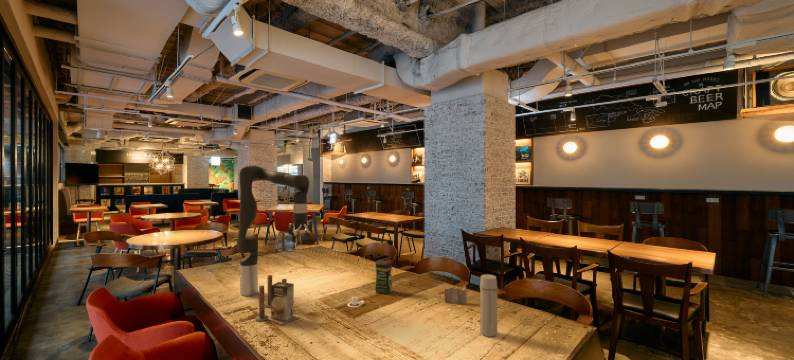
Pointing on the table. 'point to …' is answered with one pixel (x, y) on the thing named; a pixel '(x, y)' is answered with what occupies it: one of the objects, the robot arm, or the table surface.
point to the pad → (283, 320)
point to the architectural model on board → (456, 295)
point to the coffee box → (282, 301)
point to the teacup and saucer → (355, 302)
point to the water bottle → (488, 305)
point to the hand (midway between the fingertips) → (300, 241)
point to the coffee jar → (383, 277)
